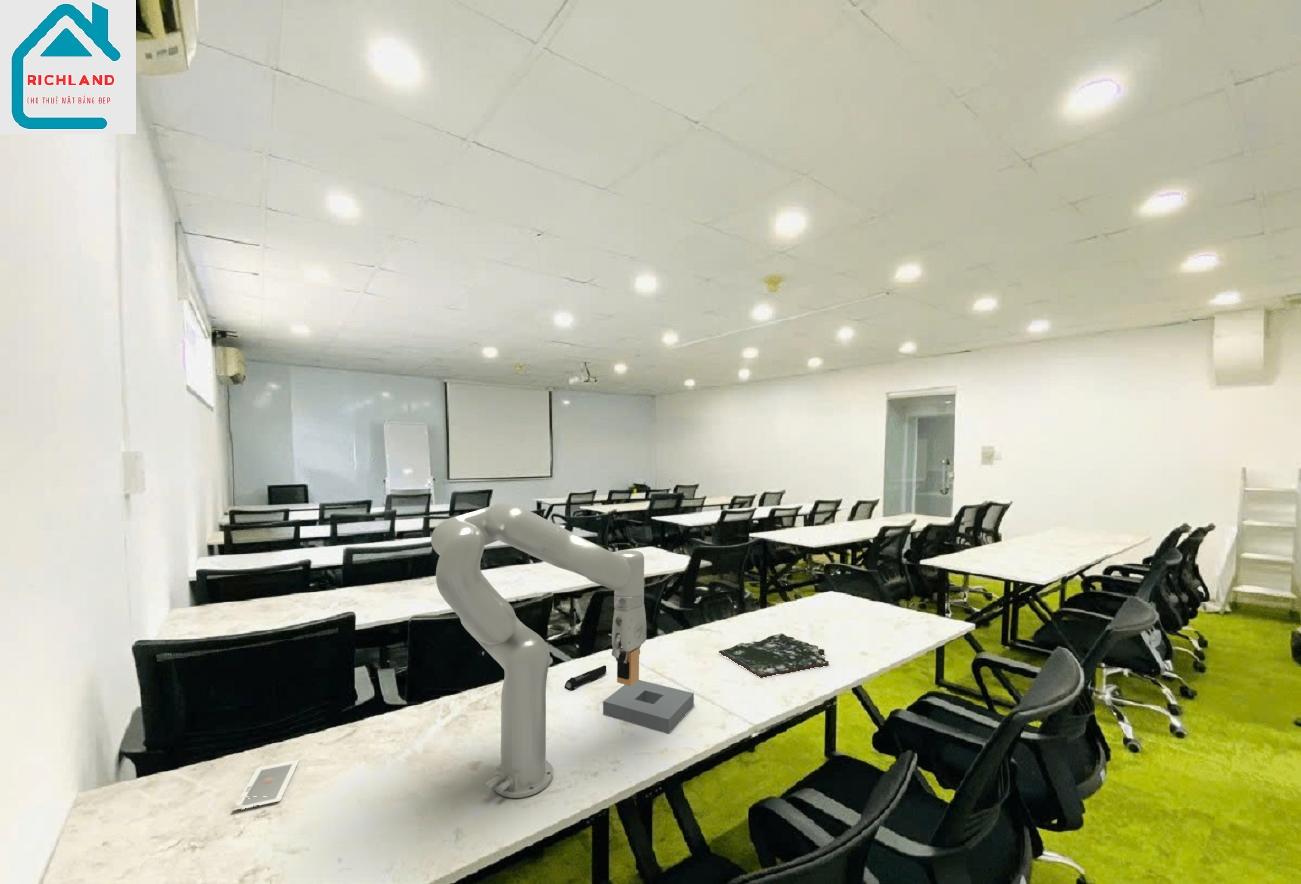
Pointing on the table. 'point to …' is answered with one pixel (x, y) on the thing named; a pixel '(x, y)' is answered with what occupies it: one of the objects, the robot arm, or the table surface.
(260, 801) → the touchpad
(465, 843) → the table surface
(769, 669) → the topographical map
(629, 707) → the socket board
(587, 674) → the electric trimmer
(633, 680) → the peg
